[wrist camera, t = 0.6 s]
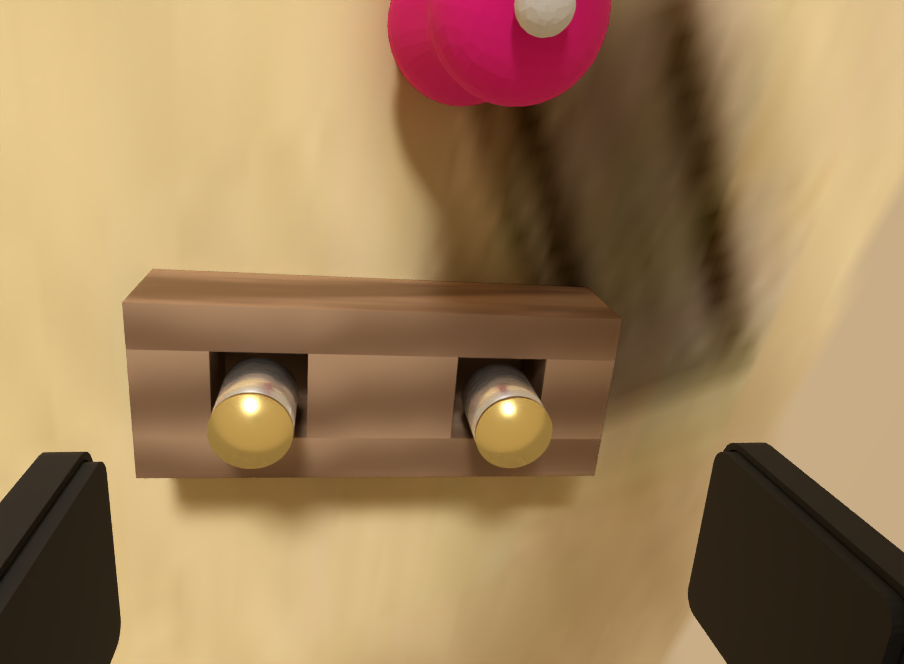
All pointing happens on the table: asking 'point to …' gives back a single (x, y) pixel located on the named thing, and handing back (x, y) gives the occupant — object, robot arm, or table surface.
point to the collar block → (363, 369)
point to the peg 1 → (254, 414)
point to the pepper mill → (496, 47)
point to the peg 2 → (506, 416)
